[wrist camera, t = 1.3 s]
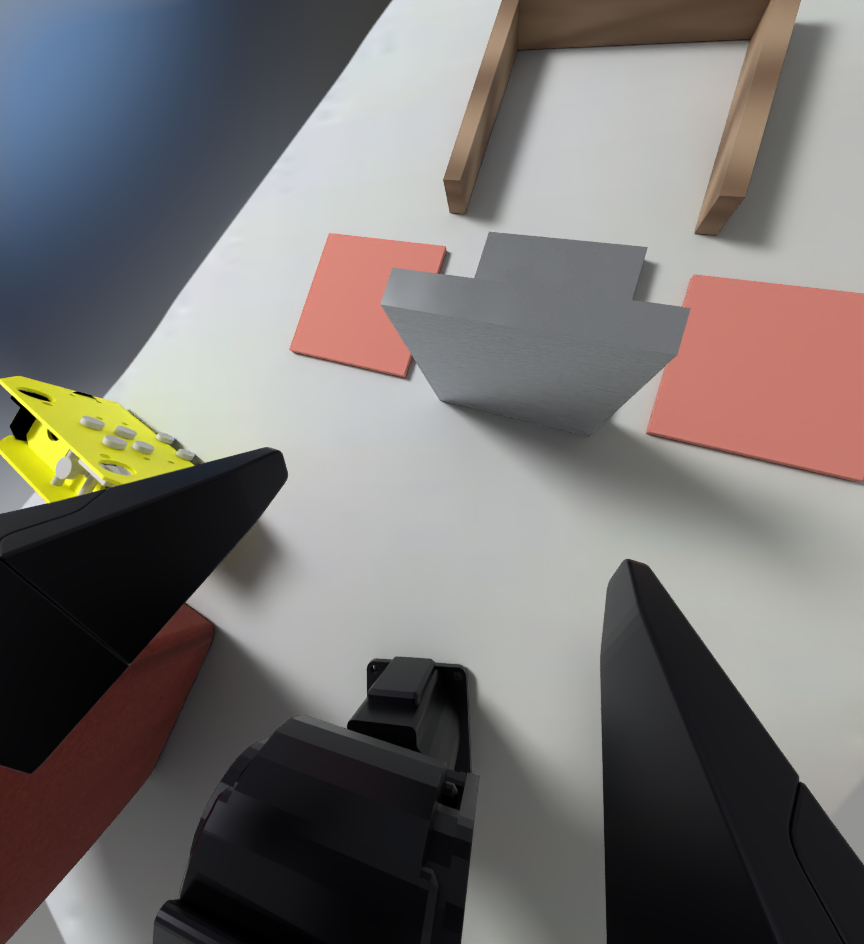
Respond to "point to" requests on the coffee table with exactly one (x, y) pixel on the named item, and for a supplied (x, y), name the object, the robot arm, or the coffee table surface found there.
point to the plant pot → (93, 769)
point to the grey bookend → (537, 330)
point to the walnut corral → (626, 23)
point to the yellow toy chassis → (81, 442)
